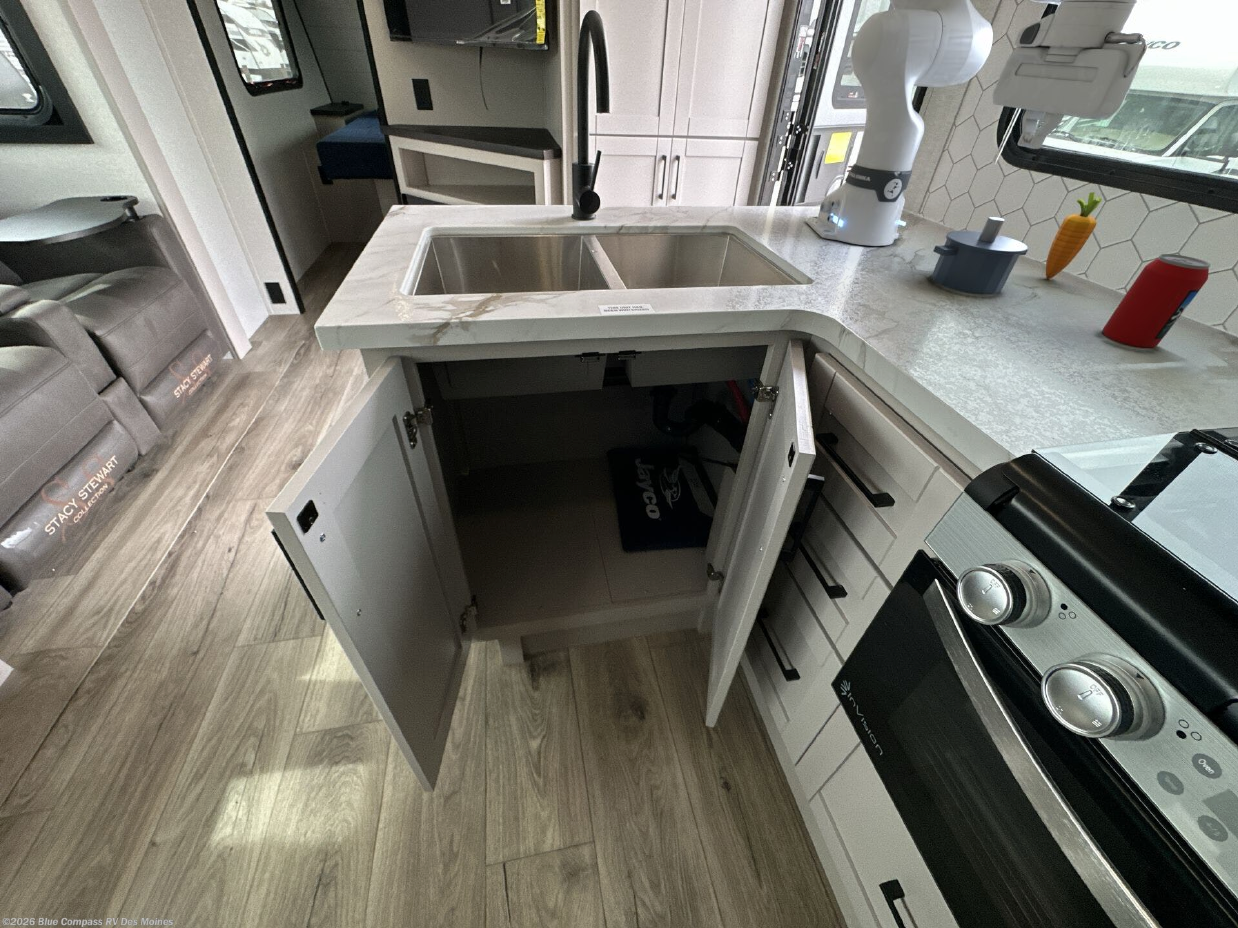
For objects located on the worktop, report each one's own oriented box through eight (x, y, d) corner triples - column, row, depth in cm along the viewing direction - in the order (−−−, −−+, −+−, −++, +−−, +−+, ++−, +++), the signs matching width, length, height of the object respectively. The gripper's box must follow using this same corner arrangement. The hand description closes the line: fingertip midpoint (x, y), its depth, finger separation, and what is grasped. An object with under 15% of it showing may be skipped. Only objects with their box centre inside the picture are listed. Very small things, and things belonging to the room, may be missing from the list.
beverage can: (1164, 354, 74) (1231, 270, 66) (1113, 348, 75) (1172, 264, 67) (1137, 335, 79) (1196, 255, 72) (1089, 330, 80) (1142, 250, 72)
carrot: (1058, 285, 97) (1110, 197, 87) (1029, 277, 100) (1076, 192, 90) (1066, 280, 99) (1116, 194, 90) (1037, 273, 102) (1083, 189, 93)
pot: (904, 276, 97) (921, 234, 92) (981, 275, 99) (1001, 234, 95) (944, 298, 88) (964, 253, 83) (1027, 296, 91) (1051, 253, 86)
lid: (929, 237, 93) (940, 209, 90) (988, 237, 95) (1000, 210, 92) (977, 258, 84) (991, 228, 81) (1041, 258, 86) (1057, 228, 83)
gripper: (1175, 34, 64) (1103, 160, 73) (1045, 33, 80) (999, 137, 88) (1133, 31, 63) (1065, 159, 72) (1010, 30, 79) (967, 136, 87)
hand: (1028, 147), depth 80 cm, fingers closed
